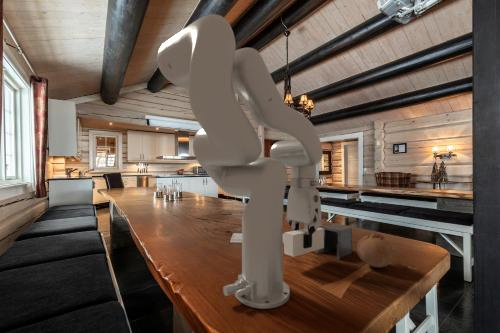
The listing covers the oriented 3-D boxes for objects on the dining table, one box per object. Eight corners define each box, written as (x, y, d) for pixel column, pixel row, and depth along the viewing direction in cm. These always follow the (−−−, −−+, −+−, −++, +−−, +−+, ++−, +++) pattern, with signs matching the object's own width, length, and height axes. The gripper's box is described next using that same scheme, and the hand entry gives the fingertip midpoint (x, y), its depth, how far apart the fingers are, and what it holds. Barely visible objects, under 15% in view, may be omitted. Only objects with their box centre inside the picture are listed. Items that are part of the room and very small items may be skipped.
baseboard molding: (309, 247, 87) (304, 237, 99) (309, 239, 87) (304, 231, 99) (229, 245, 89) (233, 236, 101) (229, 238, 89) (233, 230, 101)
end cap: (338, 260, 72) (338, 232, 73) (316, 252, 80) (316, 227, 80) (354, 253, 78) (354, 228, 78) (332, 246, 85) (331, 223, 85)
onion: (381, 261, 72) (381, 229, 72) (400, 274, 62) (400, 238, 63) (351, 260, 72) (351, 229, 72) (365, 274, 63) (365, 237, 63)
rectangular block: (293, 256, 63) (293, 235, 64) (284, 253, 66) (284, 232, 66) (323, 247, 72) (323, 228, 72) (314, 245, 74) (314, 226, 75)
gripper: (334, 185, 65) (333, 251, 64) (291, 183, 78) (290, 238, 77) (318, 185, 60) (317, 255, 59) (275, 183, 74) (274, 241, 73)
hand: (302, 245), depth 68 cm, fingers closed on rectangular block, 3 cm apart
